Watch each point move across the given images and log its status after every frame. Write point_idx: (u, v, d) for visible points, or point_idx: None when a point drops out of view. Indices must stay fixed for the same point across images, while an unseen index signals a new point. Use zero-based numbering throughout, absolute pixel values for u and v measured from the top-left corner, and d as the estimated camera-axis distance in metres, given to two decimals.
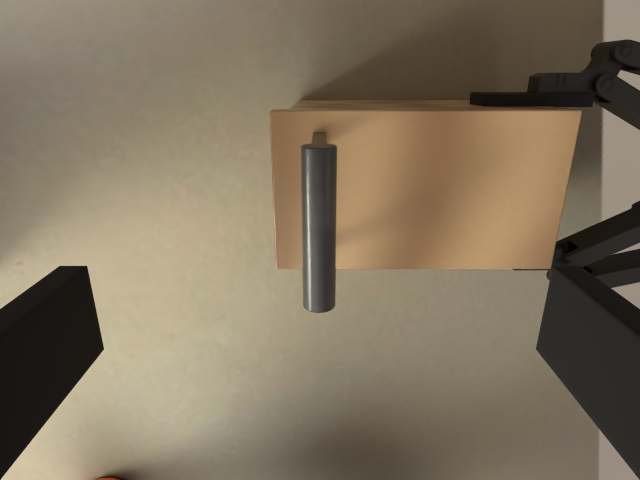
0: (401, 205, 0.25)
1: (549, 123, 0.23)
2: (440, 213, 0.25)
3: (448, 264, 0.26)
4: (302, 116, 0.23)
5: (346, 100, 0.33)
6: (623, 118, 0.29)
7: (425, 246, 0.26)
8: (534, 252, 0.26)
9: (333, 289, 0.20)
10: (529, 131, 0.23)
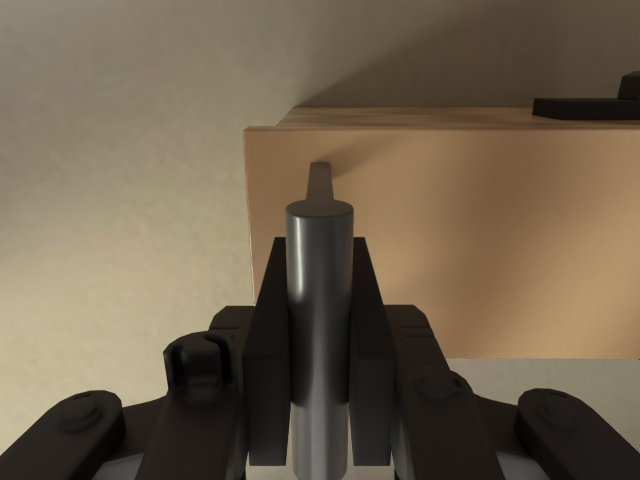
0: (443, 270, 0.17)
1: None
2: (501, 281, 0.17)
3: (510, 353, 0.18)
4: (293, 138, 0.15)
5: (356, 108, 0.25)
6: None
7: (477, 327, 0.17)
8: (638, 336, 0.17)
9: (344, 447, 0.11)
10: None
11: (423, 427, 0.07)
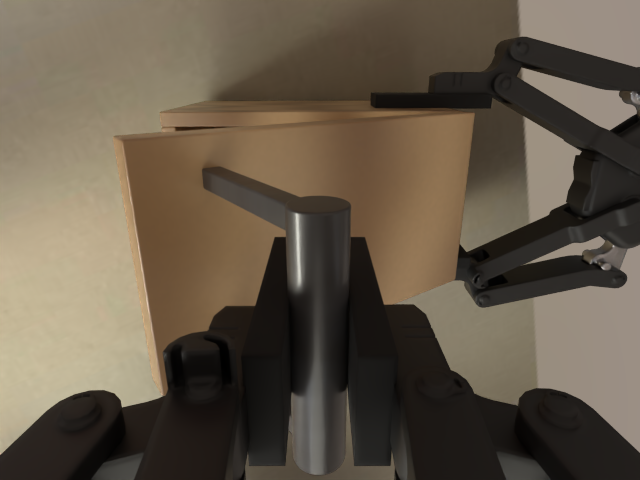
0: None
1: (452, 128, 0.21)
2: None
3: None
4: (180, 144, 0.14)
5: (253, 101, 0.31)
6: (533, 120, 0.27)
7: None
8: (443, 267, 0.24)
9: None
10: (437, 139, 0.21)
11: (424, 427, 0.07)
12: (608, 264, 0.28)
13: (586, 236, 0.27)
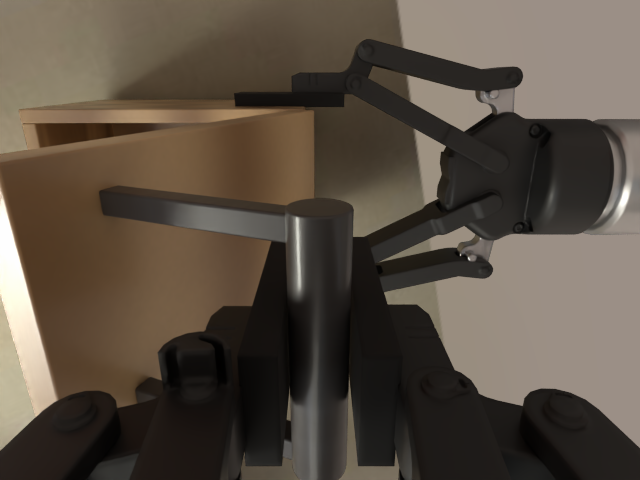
0: (221, 263, 0.17)
1: (301, 125, 0.22)
2: (252, 254, 0.19)
3: None
4: (71, 163, 0.11)
5: (147, 100, 0.33)
6: None
7: (246, 302, 0.19)
8: None
9: None
10: (293, 136, 0.21)
11: (428, 427, 0.07)
12: (473, 255, 0.30)
13: (446, 228, 0.28)
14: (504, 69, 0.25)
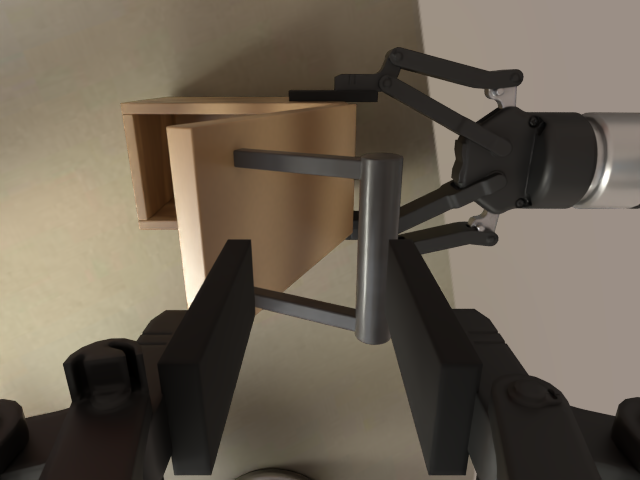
0: (293, 214, 0.23)
1: (347, 116, 0.28)
2: (311, 212, 0.25)
3: (317, 258, 0.27)
4: (221, 131, 0.17)
5: None
6: None
7: (306, 248, 0.25)
8: (347, 223, 0.31)
9: None
10: (341, 124, 0.27)
11: (517, 435, 0.07)
12: (482, 226, 0.35)
13: (460, 203, 0.34)
14: (508, 71, 0.31)
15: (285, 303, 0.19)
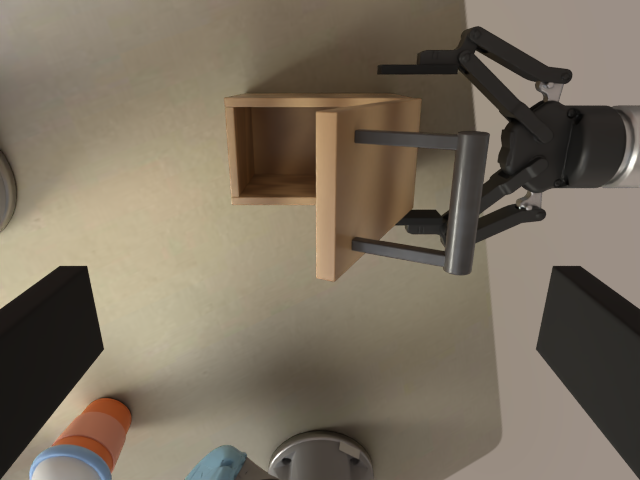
0: (380, 185, 0.29)
1: (415, 108, 0.34)
2: (391, 185, 0.31)
3: (391, 225, 0.33)
4: (350, 115, 0.23)
5: (279, 93, 0.45)
6: (481, 91, 0.40)
7: (386, 215, 0.31)
8: (410, 199, 0.37)
9: None
10: (411, 114, 0.33)
11: None
12: (529, 205, 0.41)
13: (511, 189, 0.40)
14: (561, 69, 0.37)
15: (387, 247, 0.25)
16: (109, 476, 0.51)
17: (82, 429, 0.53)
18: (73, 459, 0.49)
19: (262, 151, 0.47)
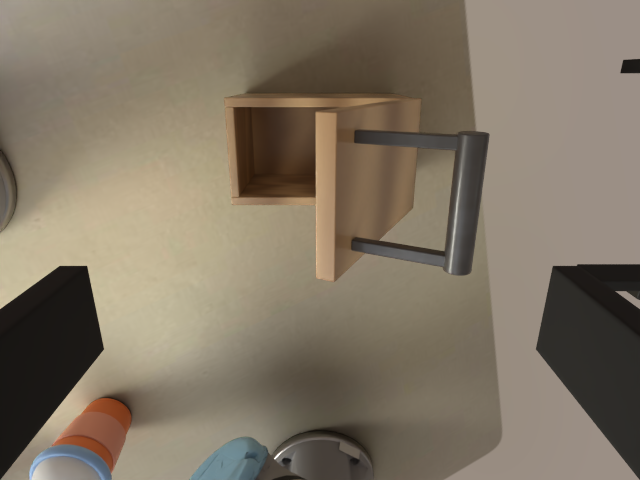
0: (380, 185, 0.29)
1: (415, 108, 0.34)
2: (390, 185, 0.31)
3: (391, 225, 0.33)
4: (349, 115, 0.23)
5: (279, 93, 0.45)
6: None
7: (386, 215, 0.31)
8: (410, 199, 0.37)
9: None
10: (411, 114, 0.33)
11: None
12: None
13: None
14: None
15: (387, 248, 0.25)
16: (109, 476, 0.51)
17: (82, 429, 0.53)
18: (73, 459, 0.49)
19: (262, 151, 0.47)
